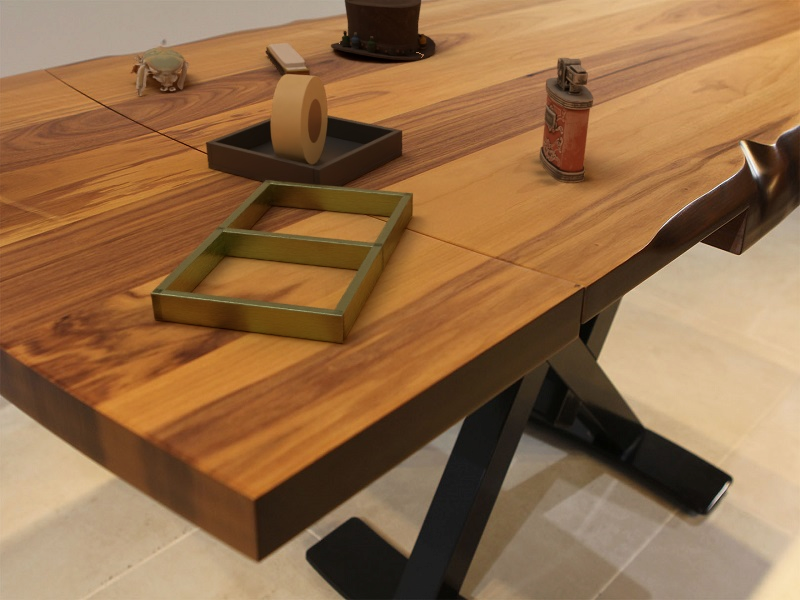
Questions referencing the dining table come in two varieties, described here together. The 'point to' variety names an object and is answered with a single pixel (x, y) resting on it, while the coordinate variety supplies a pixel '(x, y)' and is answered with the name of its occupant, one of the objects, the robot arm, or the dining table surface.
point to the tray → (338, 164)
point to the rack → (240, 241)
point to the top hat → (385, 30)
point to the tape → (299, 118)
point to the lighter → (566, 122)
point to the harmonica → (286, 59)
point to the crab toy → (160, 68)
